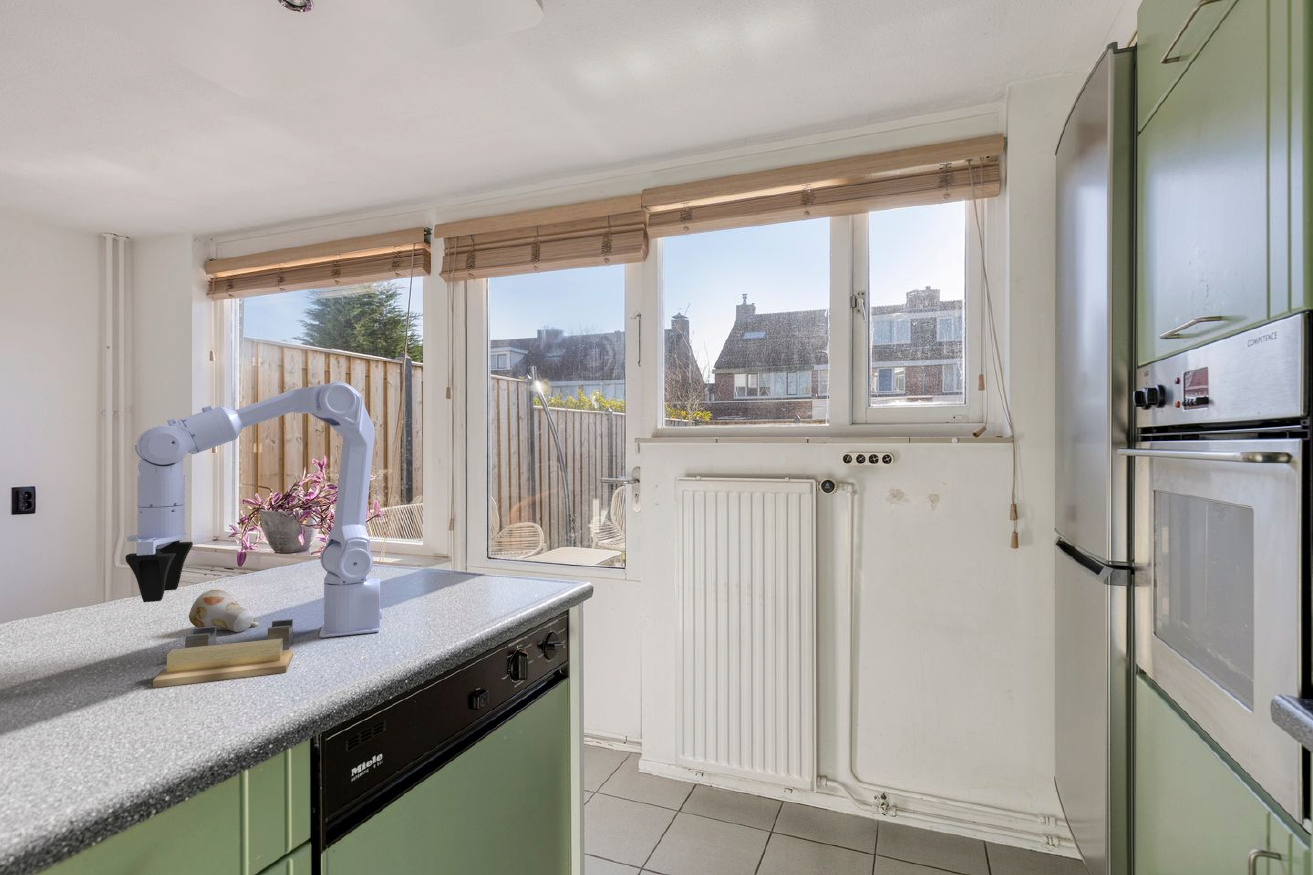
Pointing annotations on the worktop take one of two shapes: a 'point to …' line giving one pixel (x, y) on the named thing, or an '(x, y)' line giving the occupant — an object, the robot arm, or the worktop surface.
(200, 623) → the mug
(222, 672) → the board
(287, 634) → the post
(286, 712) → the worktop surface
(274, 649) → the rail
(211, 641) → the post
